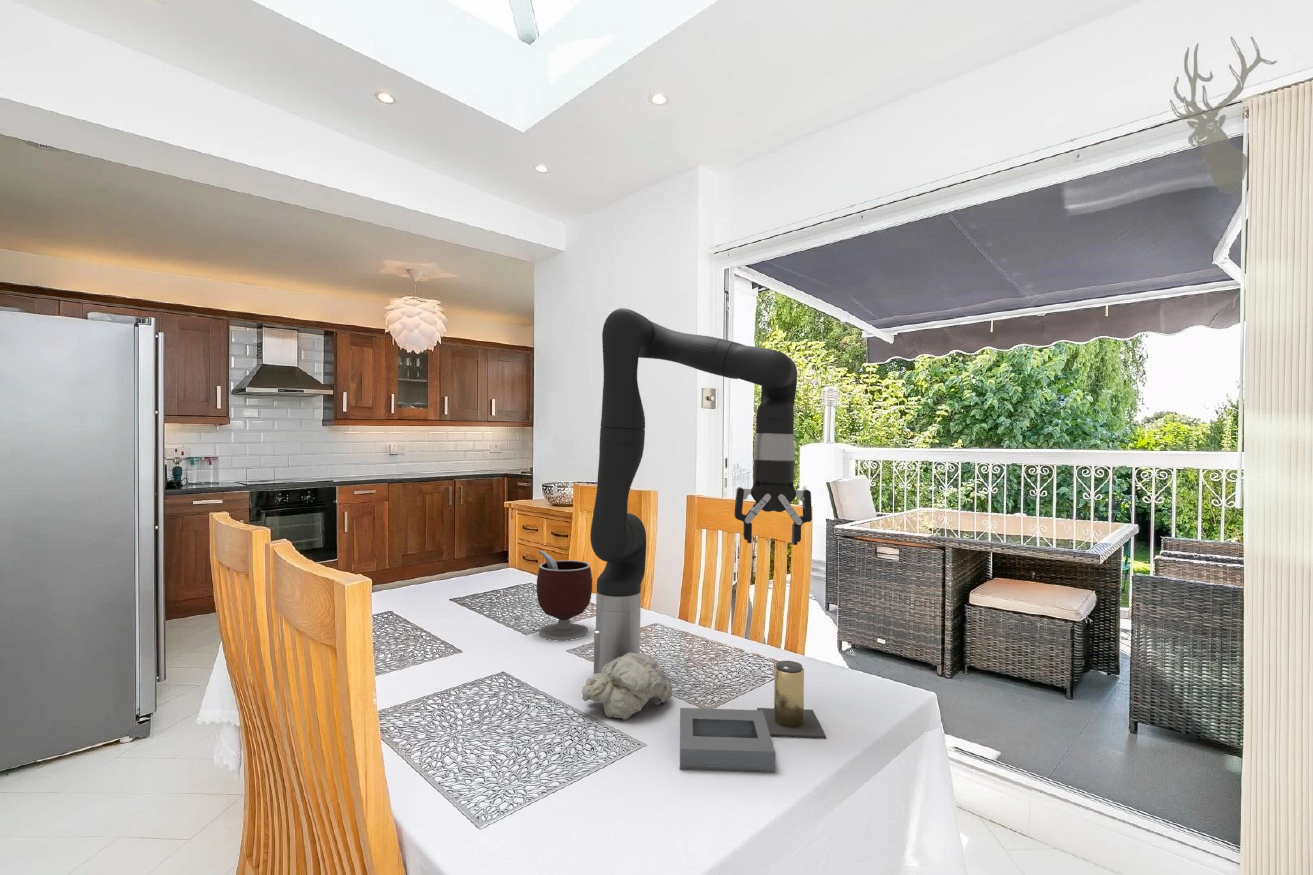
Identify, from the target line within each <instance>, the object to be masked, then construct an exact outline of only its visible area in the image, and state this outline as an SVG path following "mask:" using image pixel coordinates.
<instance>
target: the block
mask: <svg viewBox="0 0 1313 875" xmlns="http://www.w3.org/2000/svg"><path fill="white" fill-rule="evenodd" d="M679 769H680V770H696V771H722V772H723V771H725V772H727V771H729V772H751V773H752V772H753V773H755V772H756V773H757V772H758V773H776V749H775V746H774V744H773V740H772V737H771V736H770V733H769V730H768V726H767V723H766V720H765V717H764V713H763V710H757V709H736V708H735V709H733V708H732V709H731V708H730V709H729V708H705V707H704V708H701V707H699V708H697V707H696V708H695V707H680V708H679Z"/></svg>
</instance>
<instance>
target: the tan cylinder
mask: <svg viewBox="0 0 1313 875" xmlns="http://www.w3.org/2000/svg"><path fill="white" fill-rule="evenodd" d="M773 681H774V684H773V685H774V686H773V687H774V688H773V689H774V690H773V691H774V692H773V694H774V696H773V698H774V699H773V701H774V702H773V706H774V721H775V722H776V723H777V724H779V725H781V726H784V727H800V726H802V725H803V724H804V707H805V669H804V668H803V665H802V664H801V663H799V662H797V661H793V660H780V661H777V662H776V665H775V666H774V680H773Z"/></svg>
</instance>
